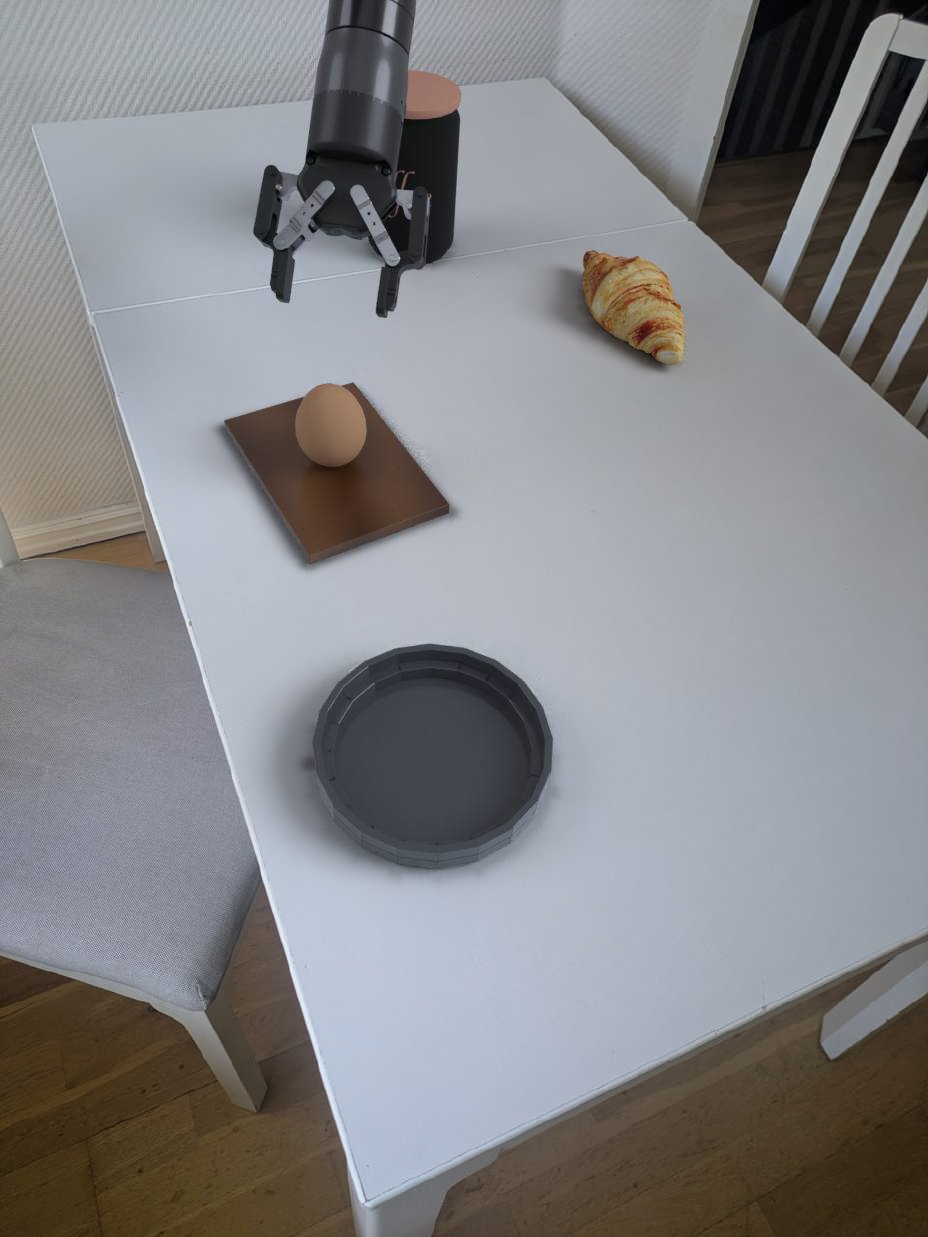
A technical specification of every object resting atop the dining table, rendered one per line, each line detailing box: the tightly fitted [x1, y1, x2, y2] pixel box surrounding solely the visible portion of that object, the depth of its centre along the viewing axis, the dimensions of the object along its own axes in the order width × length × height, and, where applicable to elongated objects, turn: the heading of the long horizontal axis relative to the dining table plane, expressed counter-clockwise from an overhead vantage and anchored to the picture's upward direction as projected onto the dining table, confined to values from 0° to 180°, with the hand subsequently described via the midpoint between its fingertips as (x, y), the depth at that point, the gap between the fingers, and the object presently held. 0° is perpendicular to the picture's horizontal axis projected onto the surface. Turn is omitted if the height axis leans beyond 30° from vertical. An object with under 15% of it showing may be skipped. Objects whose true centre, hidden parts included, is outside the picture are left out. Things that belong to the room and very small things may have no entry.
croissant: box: [581, 249, 687, 366], centre depth 103 cm, size 21×10×8 cm, turn 24°
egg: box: [295, 382, 367, 467], centre depth 82 cm, size 6×6×8 cm
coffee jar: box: [367, 69, 463, 265], centre depth 106 cm, size 11×11×18 cm
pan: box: [311, 643, 554, 870], centre depth 66 cm, size 17×17×3 cm
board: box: [223, 381, 450, 565], centre depth 86 cm, size 14×20×1 cm
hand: (331, 308), depth 76 cm, fingers open, 8 cm apart
